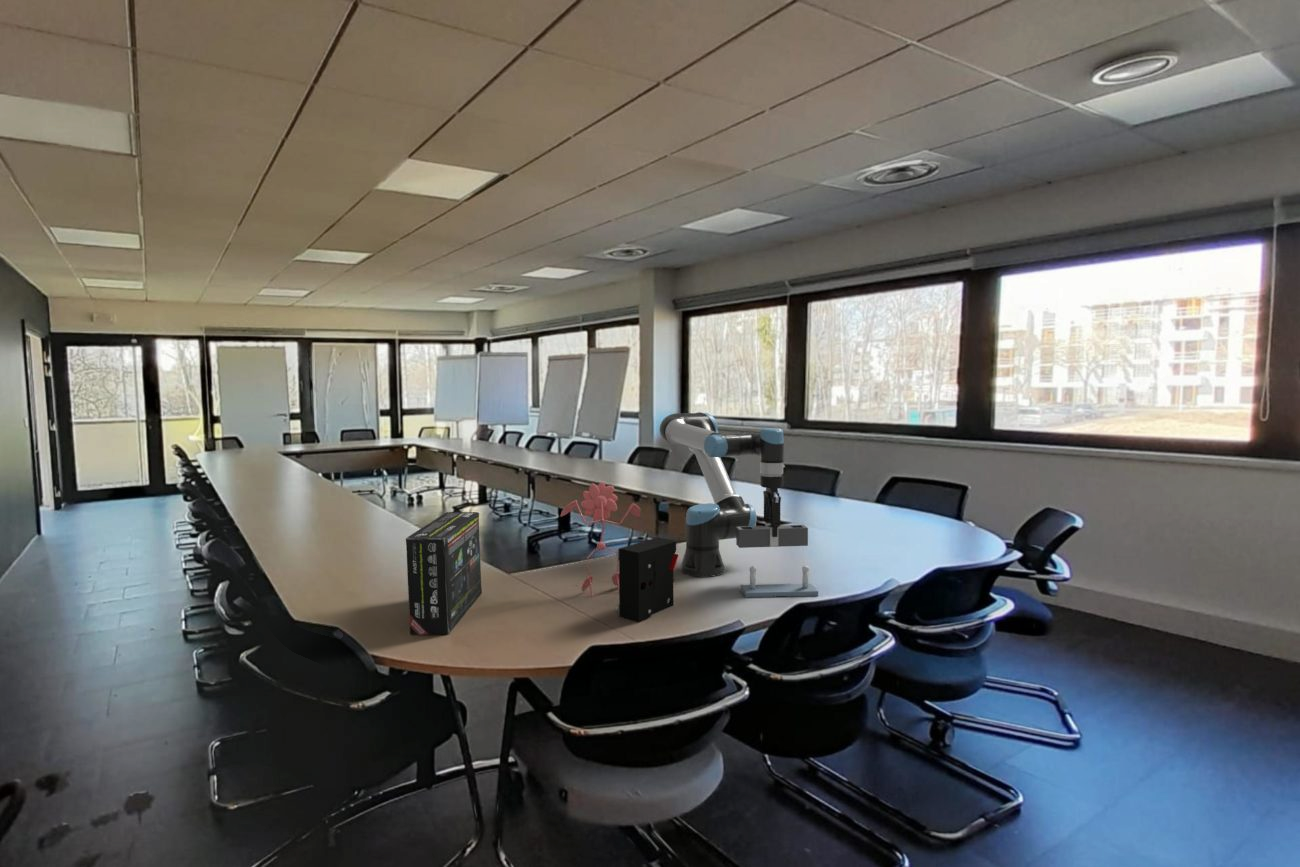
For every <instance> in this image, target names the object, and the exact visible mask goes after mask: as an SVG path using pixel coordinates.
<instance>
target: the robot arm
mask: <svg viewBox="0 0 1300 867" xmlns="http://www.w3.org/2000/svg"><path fill="white" fill-rule="evenodd" d="M718 426H719V425H718V423H717V420H716V419H715V417H714V416H713V415H712V414H710V413H707V412H700V411H699V412H691V413H689V412H685V413H684V412H683V413H678V412H676V413H672V414H669V415H667V416H665V417H664V418H663V419H662V421H661V423H660V425H659V433H660V436H661V438H662V439H663V440H664V441H665V442H667V443H668V444H669V443H670V444H672V445H679V444H681V445H685V446H686V447H687V448H688V451H691V452H694V456H695V457H696V460H697V463H698V465H699V467H700V470H701V472H702V475H703V477H704V480H705V483H706V485H707V487H708V491H709V492H710V494H711V497H712V500H713V502H714V503H711V502H709V503H699V504H696V505H693V506H690V507H689V508H688V509H687V511H686V515H685V516H686V518H685V532H686V533H685V538H686V539H685V546H686V547H685V550H684V555H683V558H682V561H681V564H680V568H681V569H680V571H681V573H683V574H686V575H687V574H688V576H692V575H693V576H692V577H701V576H707V577H714V576H713V575H716V576H719V575H718V574H720V575H722V574H723V573H724V571H725V567H724V562H723V558H722V555H721V551H720V541H721V540H722V541H723V540H729V539H730V540H731V539H736V527H743V526H757V513H756V509H755V507H754V506H753V505H751V504H750V503H745V502H744V499H743V496H741V495H739V494H737V493H736V491H735V488H734V486H733V483H732V481H731V479H730V477H729V474H728V472H727V469H726V467H725V464H724V463H723V461H722V458H725V457H741V456H760V463H759V465H760V466H759V467H760V470H759V472H760V474H761V475H760V486H761V488H765V490H763V521H764V522H765V525H764V526H769V527H770V547H769V548H773V547H774V546H778V527H779V526H780V525H781V504H782V503H781V502H782V497H781V496H780V492H779V490H778V489H780V488H783V487H784V468H785V467H786V465H785V464H784V459H785V458H784V456H785V455H784V454H785V452H784V449H785V448H784V447H785V446H784V444H785V440H784V439H785V438H784V431H783V429H782V428H777V427H776V428H773V427H772V428H771V427H769V428H768V427H767V428H761V430H760V433H758V432H751V431H750V432H749V431H748V432H743V433H728V434H727V433H721V432H719V429H718V428H719V427H718ZM774 548H775V547H774ZM721 573H722V574H721Z"/></svg>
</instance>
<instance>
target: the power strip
mask: <svg viewBox="0 0 1300 867" xmlns="http://www.w3.org/2000/svg"><path fill="white" fill-rule="evenodd" d="M735 541H736V542H735V543H736V544H735V545H736V546H737V547H738V549H743V548H771V547H770V527H769V526H765V525H756V526H743V527H736V538H735ZM807 546H809V528H808V527H807V526H806V525H805V524H786V525H783V524H782V525H780V526H779V527H778V546H774V548H777V547H807Z"/></svg>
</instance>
